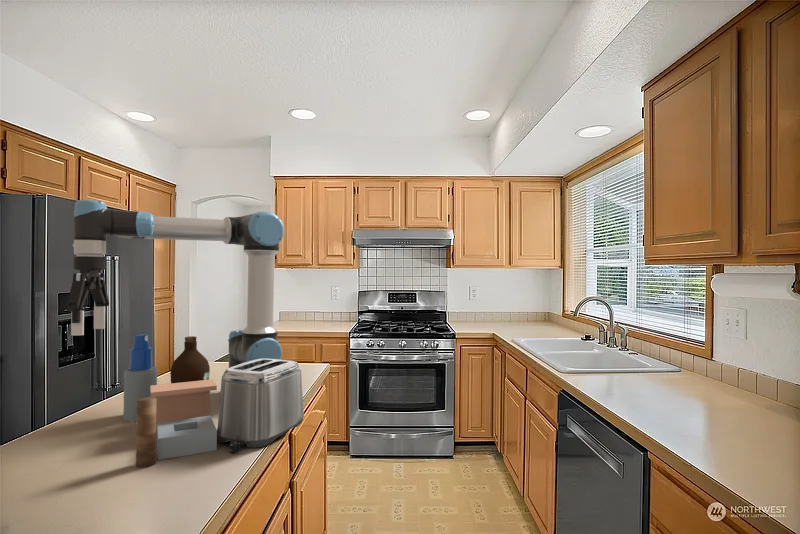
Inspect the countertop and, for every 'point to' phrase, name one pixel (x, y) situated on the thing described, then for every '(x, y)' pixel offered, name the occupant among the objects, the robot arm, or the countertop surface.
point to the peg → (146, 432)
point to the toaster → (259, 402)
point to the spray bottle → (138, 376)
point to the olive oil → (190, 364)
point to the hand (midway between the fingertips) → (89, 332)
